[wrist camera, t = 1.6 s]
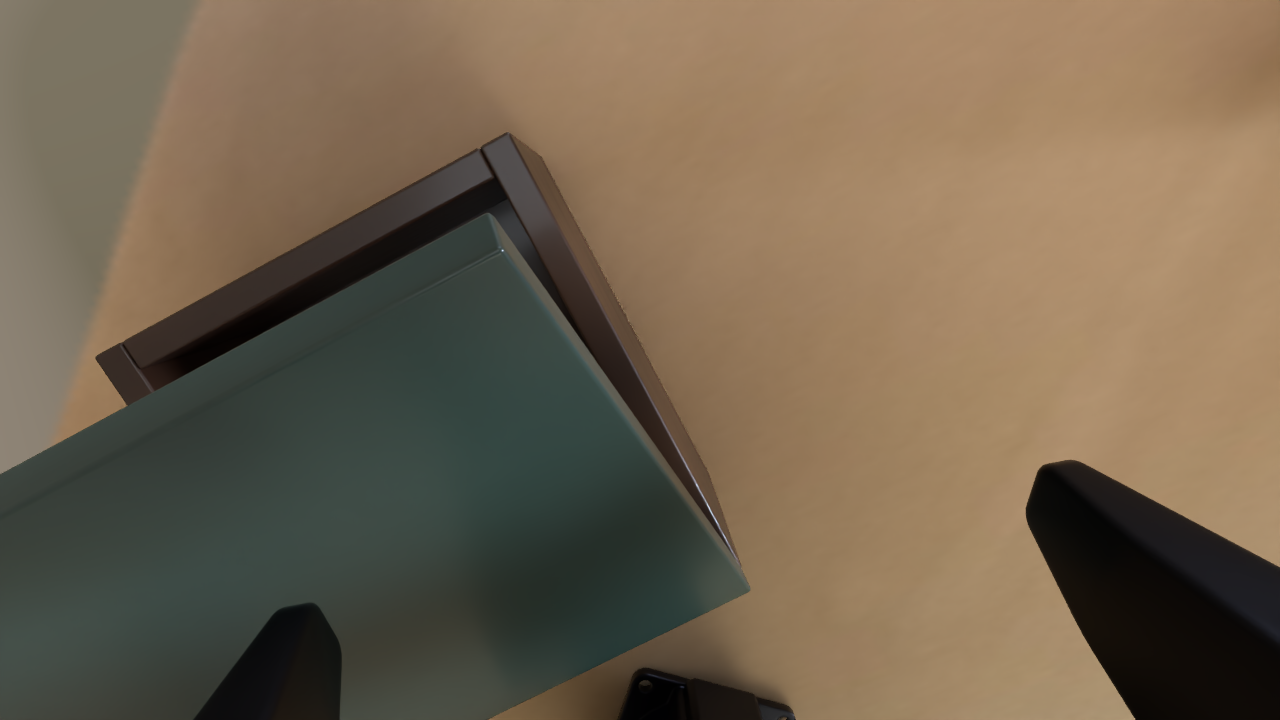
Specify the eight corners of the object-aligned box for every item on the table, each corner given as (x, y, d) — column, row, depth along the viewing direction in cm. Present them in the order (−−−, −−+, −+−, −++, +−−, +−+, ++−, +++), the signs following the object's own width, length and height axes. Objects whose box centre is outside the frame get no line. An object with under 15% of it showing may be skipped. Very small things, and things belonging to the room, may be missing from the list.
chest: (241, 316, 25) (92, 357, 18) (540, 154, 25) (508, 130, 17) (430, 614, 28) (365, 754, 20) (709, 474, 27) (742, 569, 20)
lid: (-269, 615, 10) (-297, 674, 9) (489, 207, 9) (502, 247, 9) (358, 750, 20) (361, 782, 20) (739, 563, 20) (752, 591, 19)
